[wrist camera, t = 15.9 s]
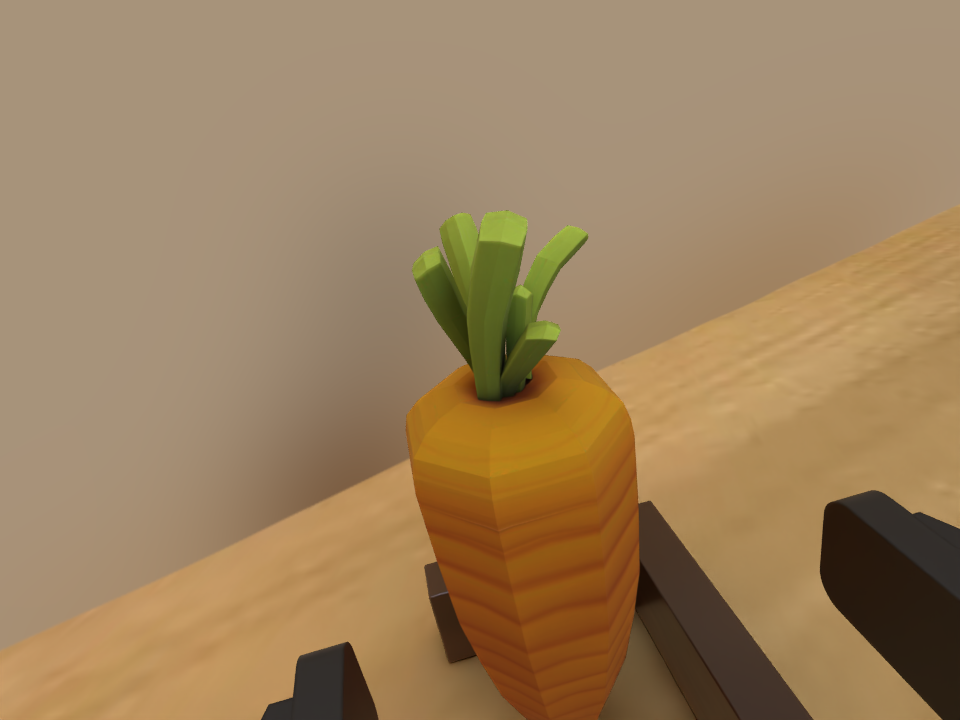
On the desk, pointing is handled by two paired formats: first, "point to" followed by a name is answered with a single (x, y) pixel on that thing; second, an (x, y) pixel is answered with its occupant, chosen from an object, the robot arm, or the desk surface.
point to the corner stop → (676, 632)
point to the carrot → (525, 477)
